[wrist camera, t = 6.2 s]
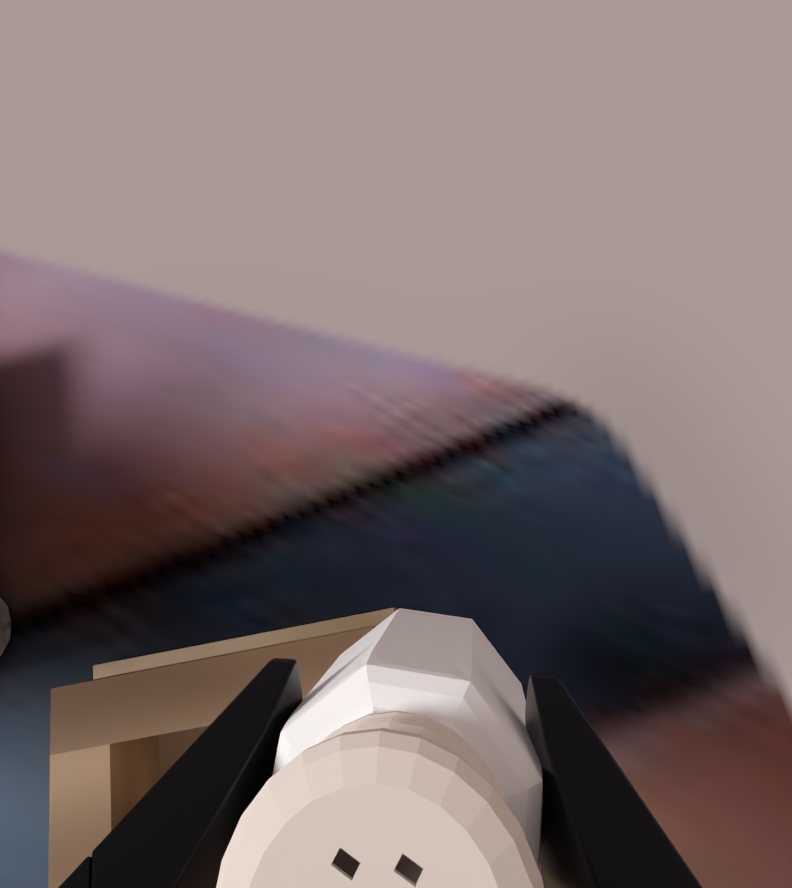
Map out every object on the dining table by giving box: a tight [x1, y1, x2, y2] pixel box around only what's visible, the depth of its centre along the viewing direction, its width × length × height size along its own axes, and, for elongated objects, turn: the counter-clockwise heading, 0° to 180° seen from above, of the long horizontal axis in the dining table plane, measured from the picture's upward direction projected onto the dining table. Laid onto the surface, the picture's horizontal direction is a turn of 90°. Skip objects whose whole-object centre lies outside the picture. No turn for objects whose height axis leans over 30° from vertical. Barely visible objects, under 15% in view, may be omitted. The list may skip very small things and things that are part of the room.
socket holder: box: [48, 608, 396, 888], centre depth 18 cm, size 12×12×4 cm
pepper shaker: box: [216, 608, 544, 888], centre depth 9 cm, size 5×5×11 cm
